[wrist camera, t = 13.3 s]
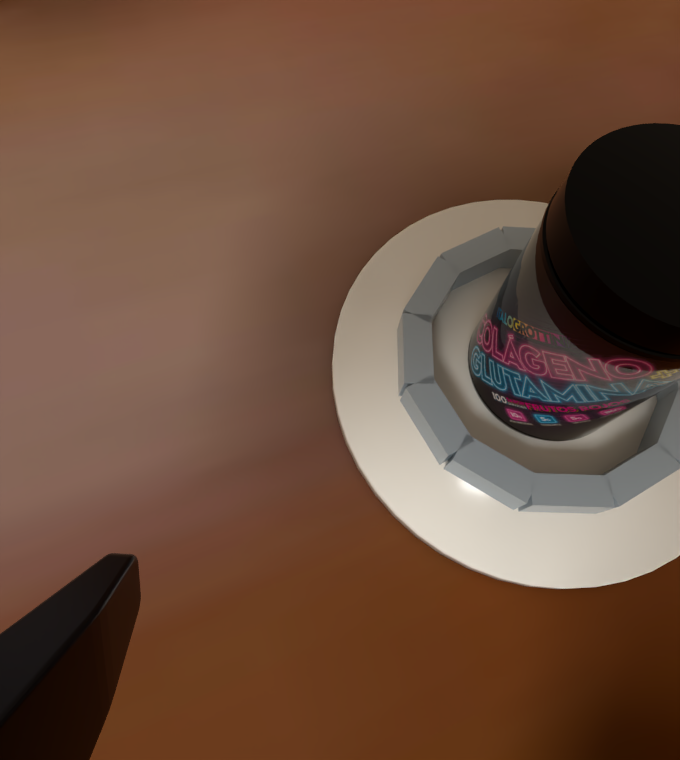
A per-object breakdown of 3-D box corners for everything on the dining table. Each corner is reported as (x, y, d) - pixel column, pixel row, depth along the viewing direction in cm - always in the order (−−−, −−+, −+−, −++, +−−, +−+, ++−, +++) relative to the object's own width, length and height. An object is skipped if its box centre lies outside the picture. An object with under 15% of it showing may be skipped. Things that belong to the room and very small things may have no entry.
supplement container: (443, 315, 25) (529, 135, 16) (583, 293, 26) (746, 110, 17) (487, 461, 23) (620, 355, 13) (639, 431, 24) (868, 313, 14)
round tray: (776, 594, 23) (830, 592, 20) (325, 583, 22) (328, 581, 20) (683, 221, 29) (716, 189, 27) (336, 203, 29) (338, 167, 26)
